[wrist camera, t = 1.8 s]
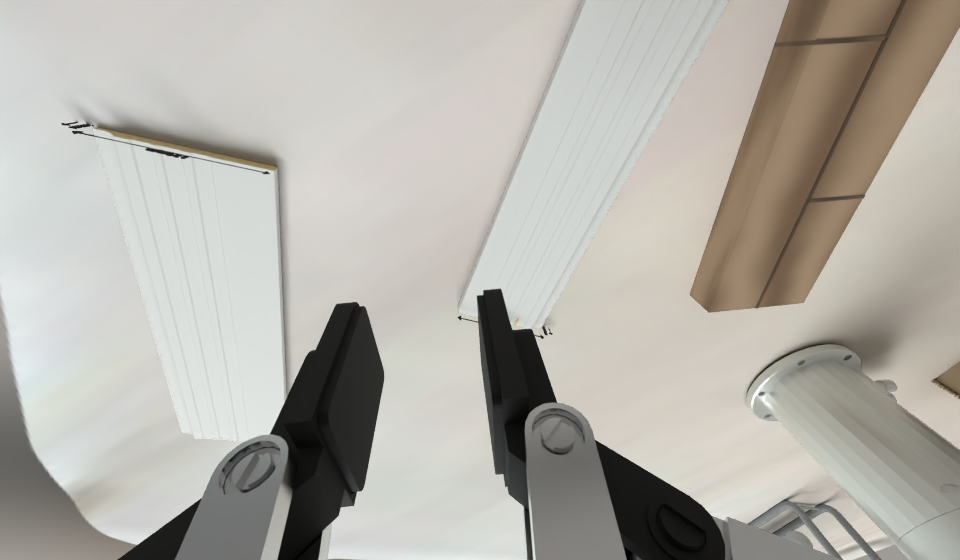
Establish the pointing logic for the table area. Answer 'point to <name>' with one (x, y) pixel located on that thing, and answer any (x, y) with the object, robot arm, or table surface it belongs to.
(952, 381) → the dark grey book
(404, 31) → the table surface
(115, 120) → the table surface
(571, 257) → the baseboard
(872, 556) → the newton's cradle
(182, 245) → the baseboard molding
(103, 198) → the table surface
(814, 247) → the plank row
